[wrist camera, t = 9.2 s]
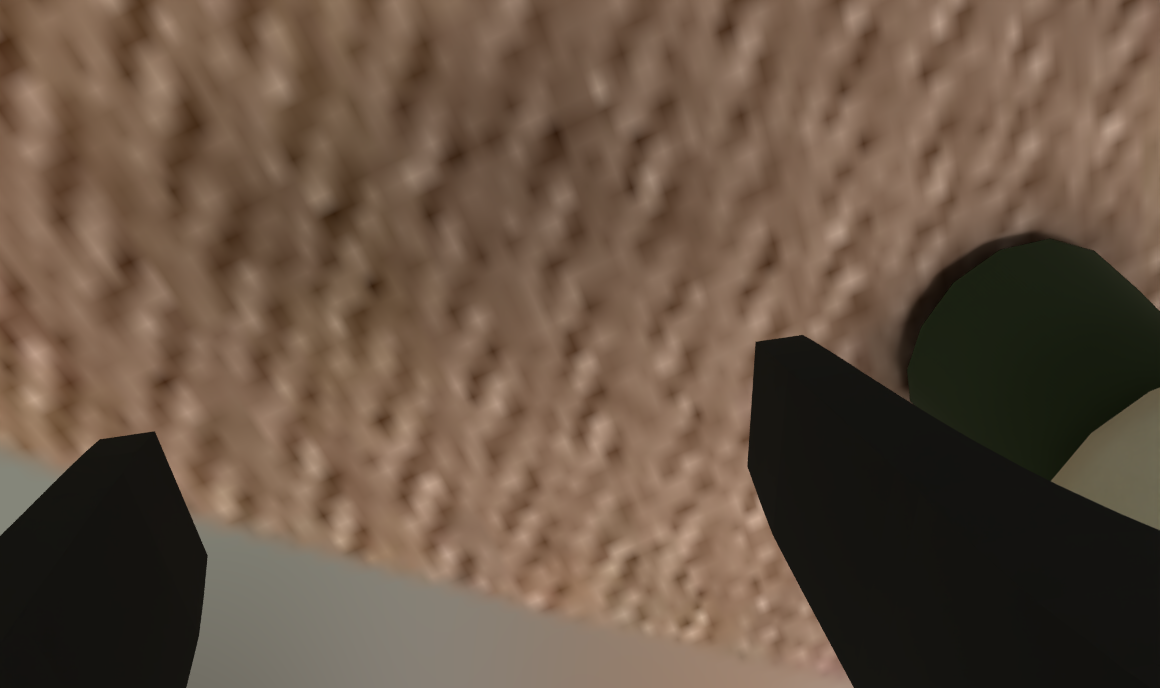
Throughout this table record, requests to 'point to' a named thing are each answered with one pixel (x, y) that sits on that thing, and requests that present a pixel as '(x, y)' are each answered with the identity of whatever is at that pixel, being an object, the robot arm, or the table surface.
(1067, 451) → the character mug
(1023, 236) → the table surface
